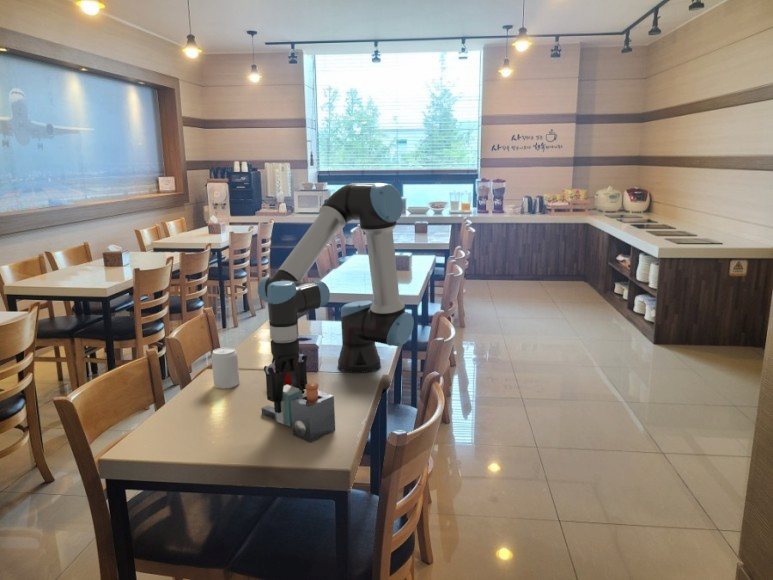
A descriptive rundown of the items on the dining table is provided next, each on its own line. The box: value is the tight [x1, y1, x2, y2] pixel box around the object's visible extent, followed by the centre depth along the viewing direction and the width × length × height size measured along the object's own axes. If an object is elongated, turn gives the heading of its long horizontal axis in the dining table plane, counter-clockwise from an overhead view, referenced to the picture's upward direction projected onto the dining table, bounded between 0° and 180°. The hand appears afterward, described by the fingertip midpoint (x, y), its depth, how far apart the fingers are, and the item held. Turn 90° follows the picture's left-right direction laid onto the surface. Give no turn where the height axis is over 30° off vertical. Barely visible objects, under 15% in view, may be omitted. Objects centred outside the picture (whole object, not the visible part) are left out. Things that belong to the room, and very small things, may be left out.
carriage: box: [275, 384, 303, 427], centre depth 155 cm, size 5×6×9 cm
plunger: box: [305, 382, 319, 402], centre depth 148 cm, size 3×3×6 cm
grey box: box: [291, 389, 336, 444], centre depth 149 cm, size 9×7×10 cm
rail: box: [261, 404, 276, 421], centre depth 157 cm, size 2×17×2 cm, turn 51°
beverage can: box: [211, 346, 241, 390], centre depth 183 cm, size 8×8×12 cm
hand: (289, 418), depth 156 cm, fingers closed on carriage, 5 cm apart
